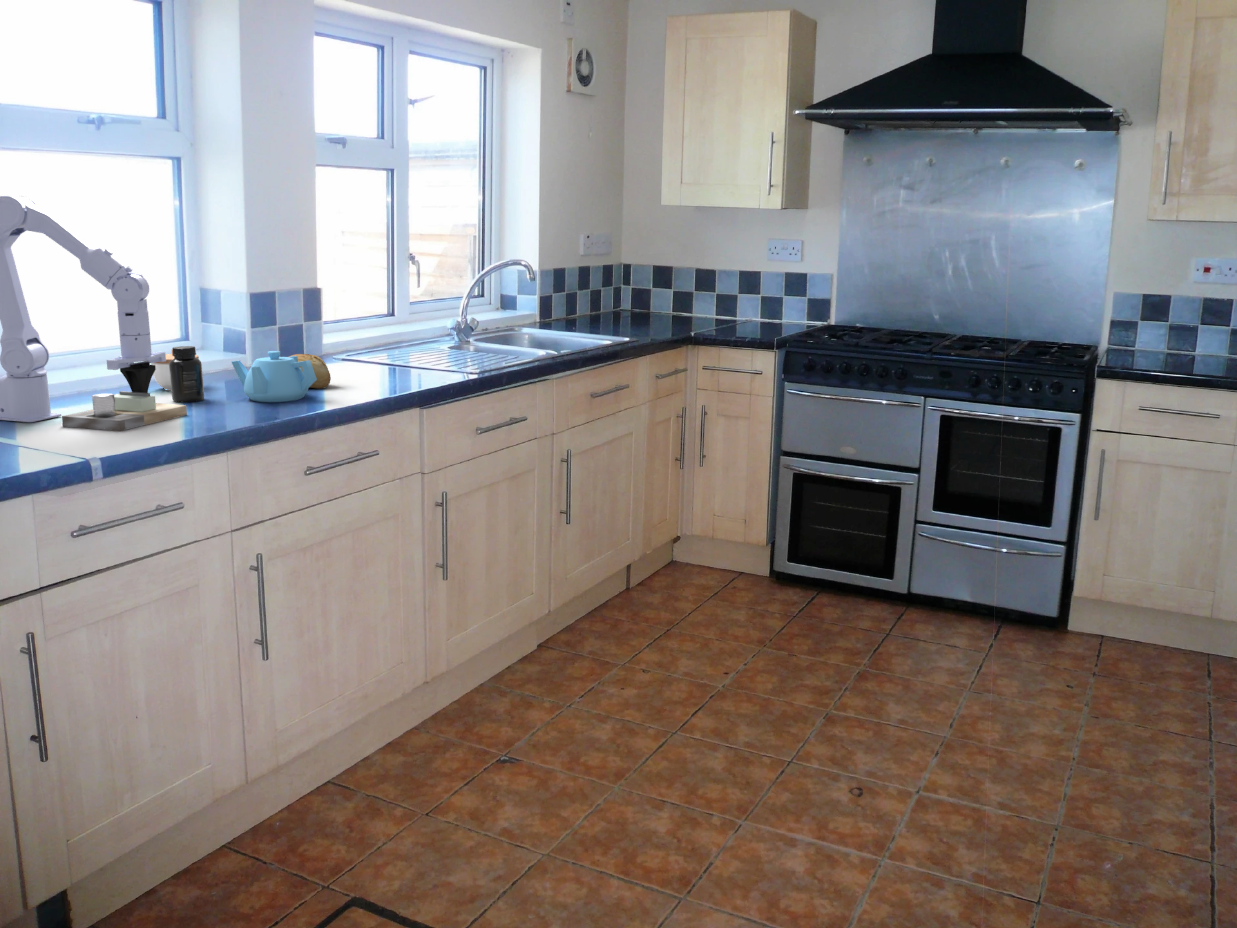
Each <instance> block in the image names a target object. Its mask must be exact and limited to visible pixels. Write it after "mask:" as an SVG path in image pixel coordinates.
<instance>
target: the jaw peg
mask: <svg viewBox="0 0 1237 928" xmlns="http://www.w3.org/2000/svg"><path fill="white" fill-rule="evenodd" d="M114 395H115V394H114V393H95V394H93V395H91V397H92V398H91V399H92V410H93V411H94V417H99V418H109V417H114V416H116V408H115V397H114Z"/></svg>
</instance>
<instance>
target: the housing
mask: <svg viewBox="0 0 1237 928" xmlns="http://www.w3.org/2000/svg"><path fill="white" fill-rule="evenodd" d="M155 403H156V409H153V410H148V411H144V412H136V411H123V410H116V416H114V417H109V418H99V417H94V411H93V409H90V410H84V411H79V412H75V413H70V414H66V415H61V421H62V427H69V428H70V427H71V428H81V429H82V428H83V429H90V430H91V429H93V430H105V431H115V432H116V431H117V432H121V431H127V430H131V429H133V428H139V427H142V426H146V425H147V426H148V425H150V424H155V423H159V422H162V421H167V420H172V419H175V418H180V417H183V416H187V415H188V411H187V410H188V408H187V405H186V404H185V405H184V404H173V403H158V402H155Z"/></svg>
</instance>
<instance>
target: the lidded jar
mask: <svg viewBox="0 0 1237 928" xmlns="http://www.w3.org/2000/svg"><path fill="white" fill-rule="evenodd" d="M165 354H166V361H164V362H154V363H150V365H155V367H156V370H155V372H154V374H153V376H152V377H153V378H154V381H155V382H156V383H157V384H158V385H159V387H161V388H162V389H163V388H164V389H167V390H166V391H171V381H170V370H169V363H170V361H171V360H173V359H174V356H173V349H171V353H165ZM195 357H196V358H197V359H199V355H197V354H196V355H195ZM199 360H200V359H199ZM164 389H163V390H164Z"/></svg>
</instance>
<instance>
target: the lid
mask: <svg viewBox="0 0 1237 928" xmlns="http://www.w3.org/2000/svg"><path fill="white" fill-rule="evenodd" d="M114 397H115V408H116V410H123V411H136V412H144V411H148V410H153V409H156V403H157V402H156V396H155V395H151V392H148V393H142V392H132V391H124V390H121V391H119V393H116V394H114Z"/></svg>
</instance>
